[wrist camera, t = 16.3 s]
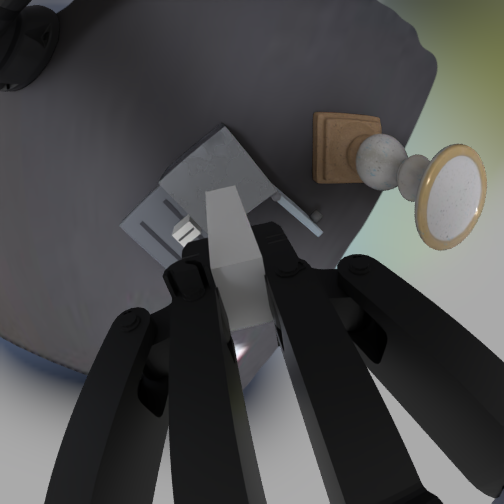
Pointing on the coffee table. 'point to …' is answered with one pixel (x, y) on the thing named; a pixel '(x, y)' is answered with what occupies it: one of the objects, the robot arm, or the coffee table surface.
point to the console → (157, 226)
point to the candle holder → (403, 174)
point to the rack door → (298, 212)
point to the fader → (186, 230)
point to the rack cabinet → (215, 175)
